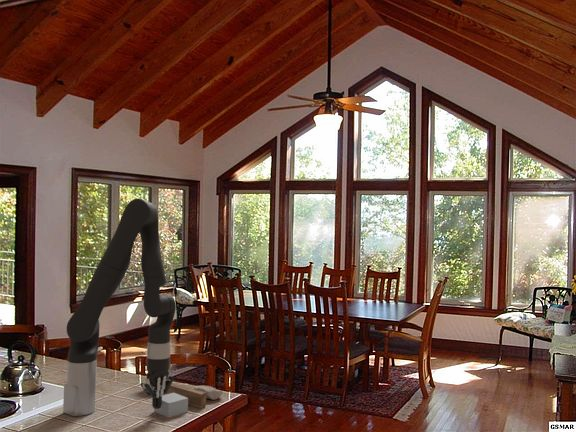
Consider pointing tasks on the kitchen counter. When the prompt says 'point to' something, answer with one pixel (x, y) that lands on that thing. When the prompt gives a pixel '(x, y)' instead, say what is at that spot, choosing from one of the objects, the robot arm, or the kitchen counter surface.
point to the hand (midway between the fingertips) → (156, 407)
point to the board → (189, 395)
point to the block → (173, 405)
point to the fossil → (209, 392)
